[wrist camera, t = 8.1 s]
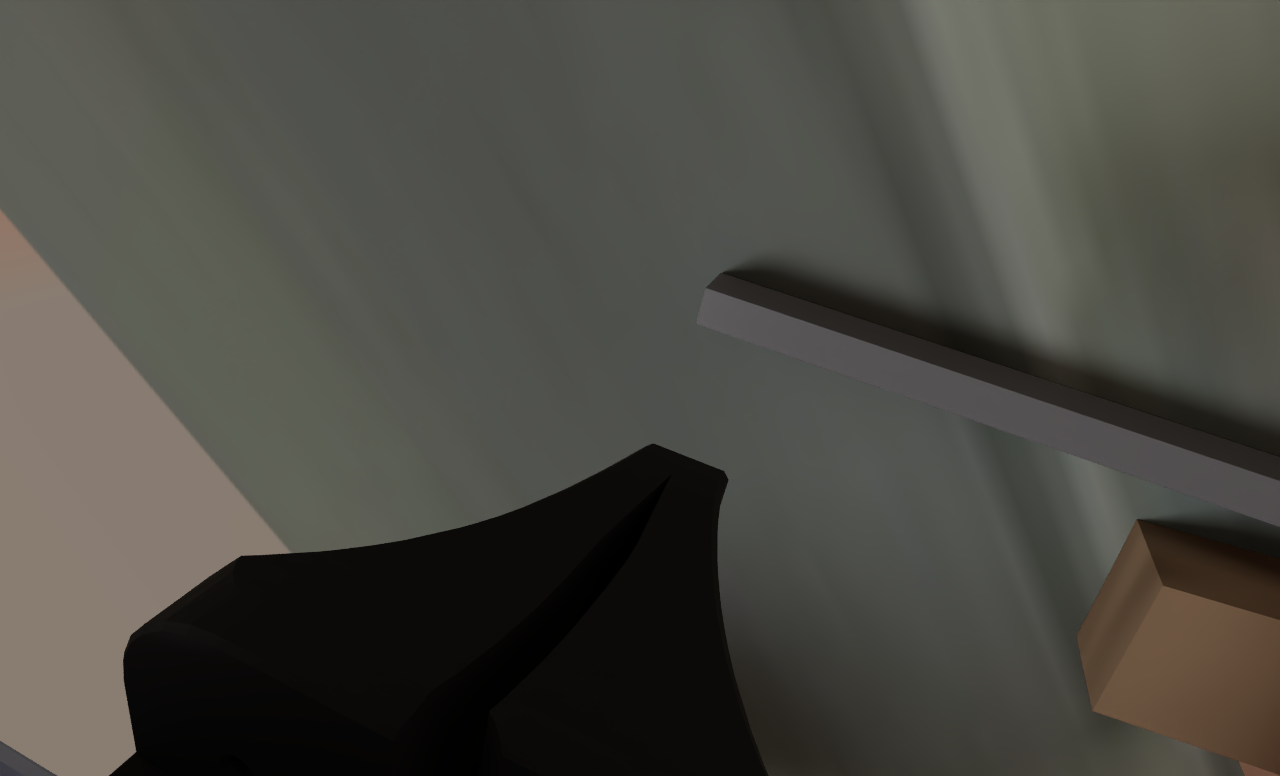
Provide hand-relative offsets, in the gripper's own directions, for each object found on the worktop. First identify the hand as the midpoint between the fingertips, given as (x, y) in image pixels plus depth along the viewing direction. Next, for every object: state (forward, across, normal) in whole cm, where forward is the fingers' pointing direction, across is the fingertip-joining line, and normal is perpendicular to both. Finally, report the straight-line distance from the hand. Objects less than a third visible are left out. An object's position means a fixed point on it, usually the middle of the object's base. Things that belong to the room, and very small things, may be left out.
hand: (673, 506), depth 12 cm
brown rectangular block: (+10, -14, +4) cm, 17 cm away
